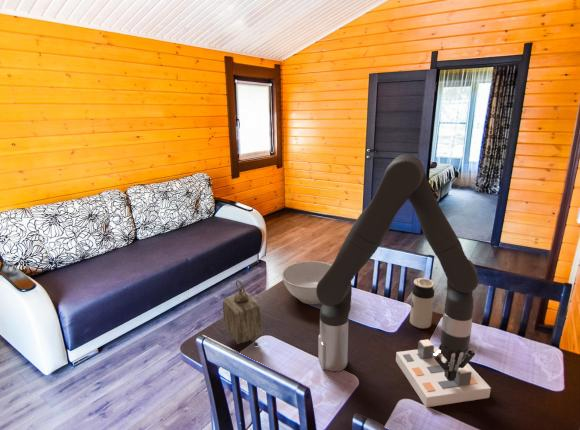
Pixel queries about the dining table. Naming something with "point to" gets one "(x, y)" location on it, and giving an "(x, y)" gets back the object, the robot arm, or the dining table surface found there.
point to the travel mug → (422, 303)
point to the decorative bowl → (305, 279)
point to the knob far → (425, 348)
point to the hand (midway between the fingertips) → (449, 379)
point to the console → (438, 380)
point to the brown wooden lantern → (242, 316)
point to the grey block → (463, 376)
